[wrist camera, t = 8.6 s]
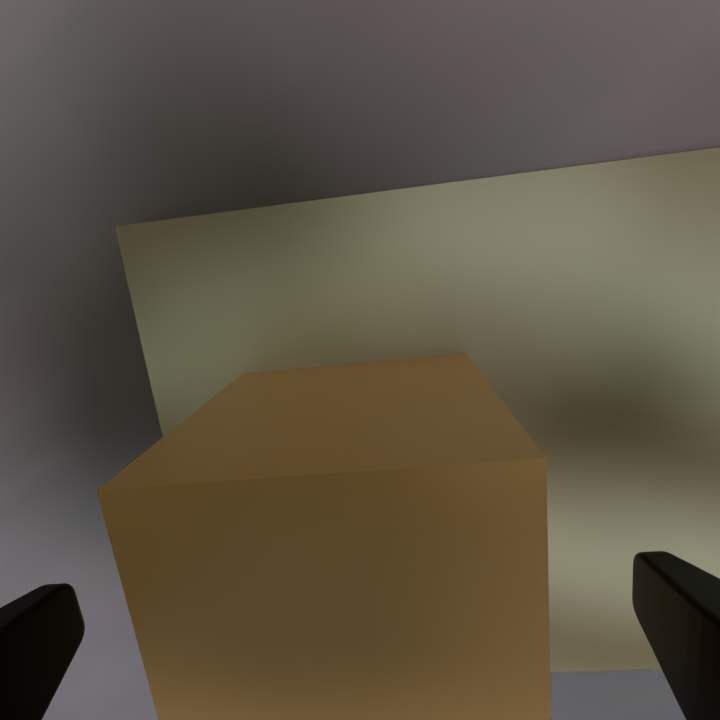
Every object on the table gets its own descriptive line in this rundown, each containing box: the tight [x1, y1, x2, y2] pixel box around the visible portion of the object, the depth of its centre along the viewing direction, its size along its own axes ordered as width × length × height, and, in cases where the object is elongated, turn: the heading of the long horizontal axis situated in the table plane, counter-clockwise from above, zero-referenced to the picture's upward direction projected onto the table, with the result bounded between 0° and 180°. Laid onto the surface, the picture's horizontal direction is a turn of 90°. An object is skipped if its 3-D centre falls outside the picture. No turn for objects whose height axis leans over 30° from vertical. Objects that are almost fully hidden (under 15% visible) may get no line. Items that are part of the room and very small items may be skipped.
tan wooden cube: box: [97, 353, 551, 720], centre depth 9 cm, size 5×5×6 cm
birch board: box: [115, 147, 720, 673], centre depth 11 cm, size 13×20×1 cm, turn 97°
